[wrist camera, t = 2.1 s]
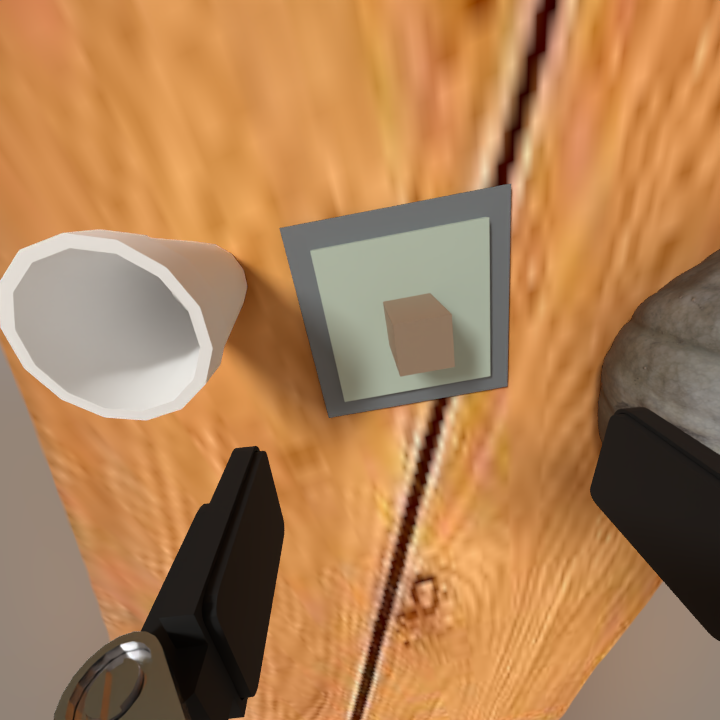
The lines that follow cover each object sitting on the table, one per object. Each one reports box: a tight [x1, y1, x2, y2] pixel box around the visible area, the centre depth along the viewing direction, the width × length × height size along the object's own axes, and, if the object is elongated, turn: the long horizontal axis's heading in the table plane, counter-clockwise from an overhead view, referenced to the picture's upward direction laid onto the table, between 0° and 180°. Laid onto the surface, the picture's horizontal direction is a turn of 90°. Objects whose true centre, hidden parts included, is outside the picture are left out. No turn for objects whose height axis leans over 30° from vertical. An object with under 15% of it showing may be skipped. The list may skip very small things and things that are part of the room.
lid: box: [310, 217, 490, 402], centre depth 26 cm, size 14×14×7 cm
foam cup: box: [0, 229, 248, 420], centre depth 22 cm, size 10×9×13 cm
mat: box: [280, 184, 511, 418], centre depth 29 cm, size 18×18×1 cm
